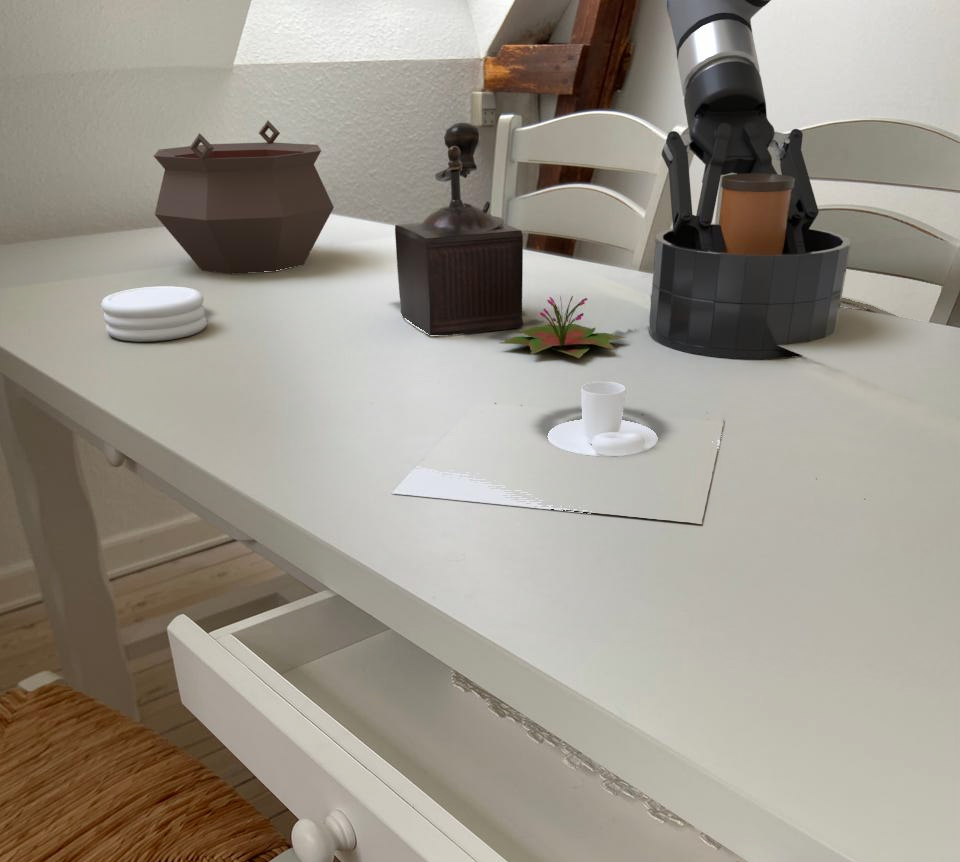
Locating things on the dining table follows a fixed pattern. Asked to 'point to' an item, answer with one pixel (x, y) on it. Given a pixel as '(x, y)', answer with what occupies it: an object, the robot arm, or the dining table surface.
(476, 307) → the coffee grinder
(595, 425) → the teacup and saucer
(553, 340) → the lily flower
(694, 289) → the pot
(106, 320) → the coaster
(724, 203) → the travel tumbler
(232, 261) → the brown cauldron
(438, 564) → the dining table surface
